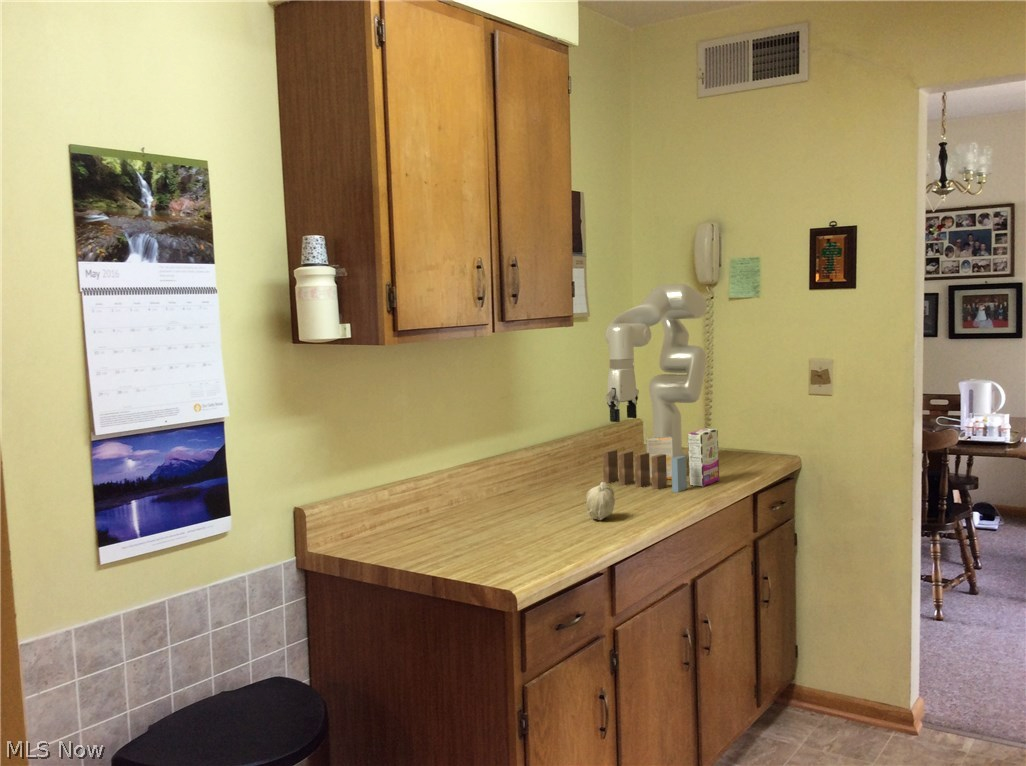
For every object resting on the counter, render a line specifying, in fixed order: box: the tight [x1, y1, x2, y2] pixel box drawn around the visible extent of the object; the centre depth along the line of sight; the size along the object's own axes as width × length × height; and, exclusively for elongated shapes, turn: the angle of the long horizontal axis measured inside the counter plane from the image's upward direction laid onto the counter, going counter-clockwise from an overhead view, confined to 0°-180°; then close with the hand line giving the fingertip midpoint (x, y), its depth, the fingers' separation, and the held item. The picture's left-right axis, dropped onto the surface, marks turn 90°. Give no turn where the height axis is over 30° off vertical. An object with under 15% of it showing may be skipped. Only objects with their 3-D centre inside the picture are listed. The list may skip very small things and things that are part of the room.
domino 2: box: [618, 450, 635, 486], centre depth 278 cm, size 2×5×10 cm, turn 138°
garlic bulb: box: [585, 481, 616, 521], centre depth 233 cm, size 10×8×10 cm
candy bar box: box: [687, 427, 720, 488], centre depth 274 cm, size 11×5×16 cm, turn 141°
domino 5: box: [671, 456, 688, 493], centre depth 265 cm, size 2×5×10 cm, turn 138°
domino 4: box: [651, 454, 668, 490], centre depth 270 cm, size 2×5×10 cm, turn 138°
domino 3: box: [634, 451, 651, 488], centre depth 274 cm, size 2×5×10 cm, turn 138°
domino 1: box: [602, 449, 619, 484], centre depth 282 cm, size 2×5×10 cm, turn 138°
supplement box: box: [645, 437, 673, 480], centre depth 285 cm, size 8×5×13 cm, turn 84°
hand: (623, 419), depth 277 cm, fingers open, 9 cm apart
